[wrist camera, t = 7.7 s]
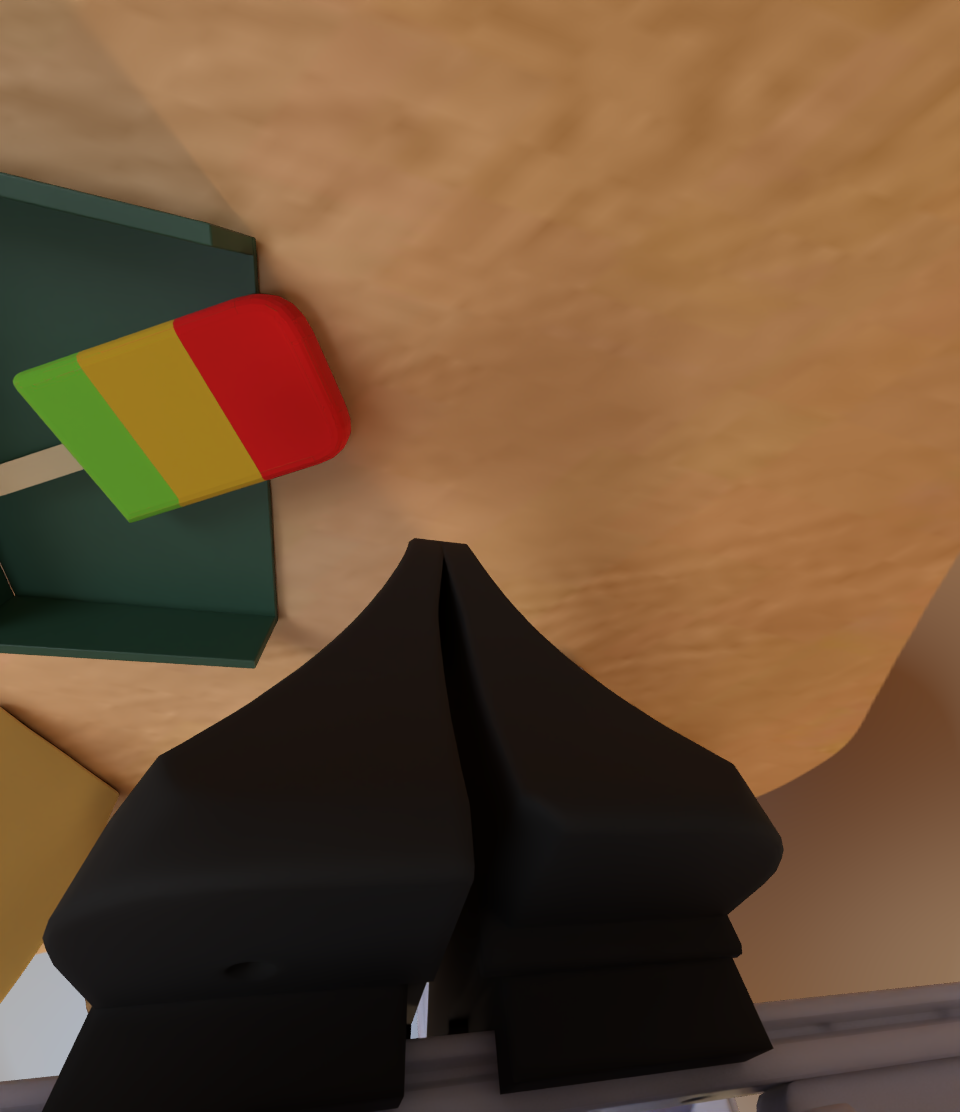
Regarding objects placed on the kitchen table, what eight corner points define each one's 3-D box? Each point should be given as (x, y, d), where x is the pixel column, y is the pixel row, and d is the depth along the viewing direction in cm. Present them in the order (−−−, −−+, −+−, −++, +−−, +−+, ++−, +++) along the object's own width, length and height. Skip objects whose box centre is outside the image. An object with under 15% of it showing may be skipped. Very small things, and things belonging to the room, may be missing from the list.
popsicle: (365, 440, 17) (357, 455, 15) (31, 545, 18) (-9, 570, 16) (295, 281, 14) (277, 279, 12) (-100, 418, 15) (-165, 432, 13)
